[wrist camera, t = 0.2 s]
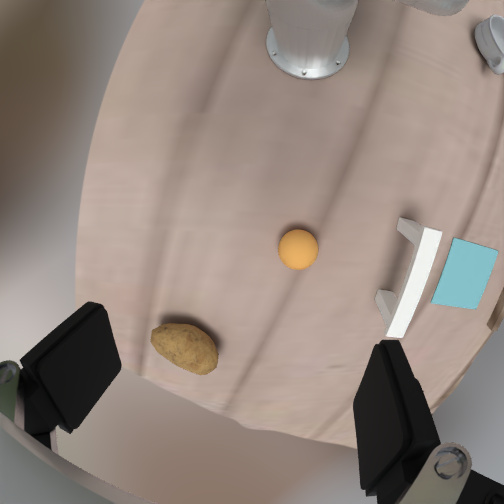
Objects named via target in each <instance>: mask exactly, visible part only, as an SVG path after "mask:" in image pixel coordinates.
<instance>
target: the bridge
mask: <svg viewBox="0 0 504 504" xmlns="http://www.w3.org/2000/svg"><path fill="white" fill-rule="evenodd" d="M396 229H397V230H398V231H399V232H400V233H401V234H403V235H404V236H405V237H406V238H407V239H408V240H409V241H410V242H412V243H413V244H414V245H415V249H414V252H413V255H412V259H411V262H410V265H409V268H408V271H407V274H406V277H405V280H404V282H403V285H402V288H401V291H400V293H399V296H398V299H397V298H396V296H395V294H394V293H393V292H392V291H386V290H380V289H378V291H377V294H376V297H375V301H376V303H377V305H378V308H379V310H380V312H381V315H382V317H383V320H384V322H385V324H386V328H385V331H384V333H385V335H386V336H388V337H398V338H403V336H404V333H405V331H406V329H407V327H408V325H409V323H410V320H411V318H412V316H413V313H414V311H415V309H416V306H417V304H418V302H419V299H420V297H421V294H422V291H423V289H424V286H425V284H426V281H427V278H428V275H429V273H430V270H431V267H432V264H433V261H434V258H435V255H436V252H437V248H438V245H439V242H440V238H441V235H442V231H440V230H439V229H435V228H431V227H428V226H424V225H420V224H418V223H417V222H415V221H413V220H409V219H405V218H401V217H399V220H398V224H397V228H396Z"/></svg>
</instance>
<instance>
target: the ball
mask: <svg viewBox="0 0 504 504" xmlns="http://www.w3.org/2000/svg"><path fill="white" fill-rule="evenodd" d="M278 253H279V257H280V259H281V261H282V262H283V263H284V264H285V265H286V266H287V267H289V268H291V269H295V270H302V269H305V268H307V267H309V266H311V265H312V264H313V263H314V261H315V260H316V258H317V255H318V244H317V242H316V240H315V238H314V237H313V236H312V235H311V234H310V233H309V232H307V231H304V230H292V231H289V232H288V233H286V234H285V235H284V236H283V237H282V239H281V240H280V243H279V246H278Z"/></svg>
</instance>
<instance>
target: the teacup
mask: <svg viewBox="0 0 504 504" xmlns="http://www.w3.org/2000/svg"><path fill="white" fill-rule="evenodd" d="M475 39H476V43H477V46H478V48H479V50H480V52H481V54H482V55H483V57H484V58H485V59H486V60H487V63H488V65H489V67H490V69H491V70H492V71H493V72H494V73H495V74H497V75H499V74H502V73H503V72H504V18H503V17H501V16H499V15H492V16H491V17H490V18H488V19H486V20H484V21H482V22H481V23H479V24H478V25H477V27H476V29H475Z"/></svg>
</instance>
